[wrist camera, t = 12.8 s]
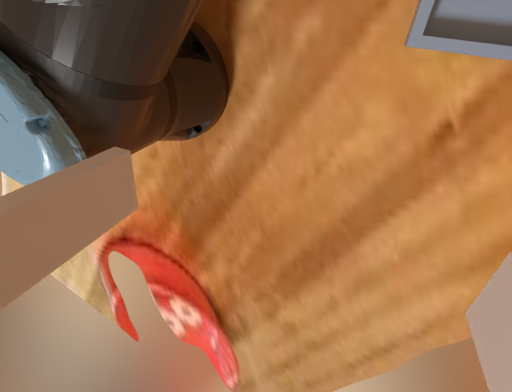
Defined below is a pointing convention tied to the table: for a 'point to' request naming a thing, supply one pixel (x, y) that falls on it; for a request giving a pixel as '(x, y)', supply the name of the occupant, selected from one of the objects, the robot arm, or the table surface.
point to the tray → (463, 27)
